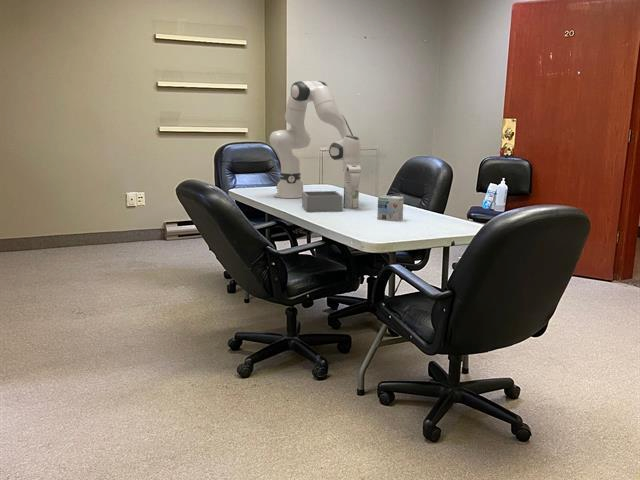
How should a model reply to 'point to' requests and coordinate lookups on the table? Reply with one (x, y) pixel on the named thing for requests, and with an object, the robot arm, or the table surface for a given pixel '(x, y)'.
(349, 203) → the syrup box
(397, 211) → the light bulb box
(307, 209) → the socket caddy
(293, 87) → the robot arm
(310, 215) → the table surface
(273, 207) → the table surface
